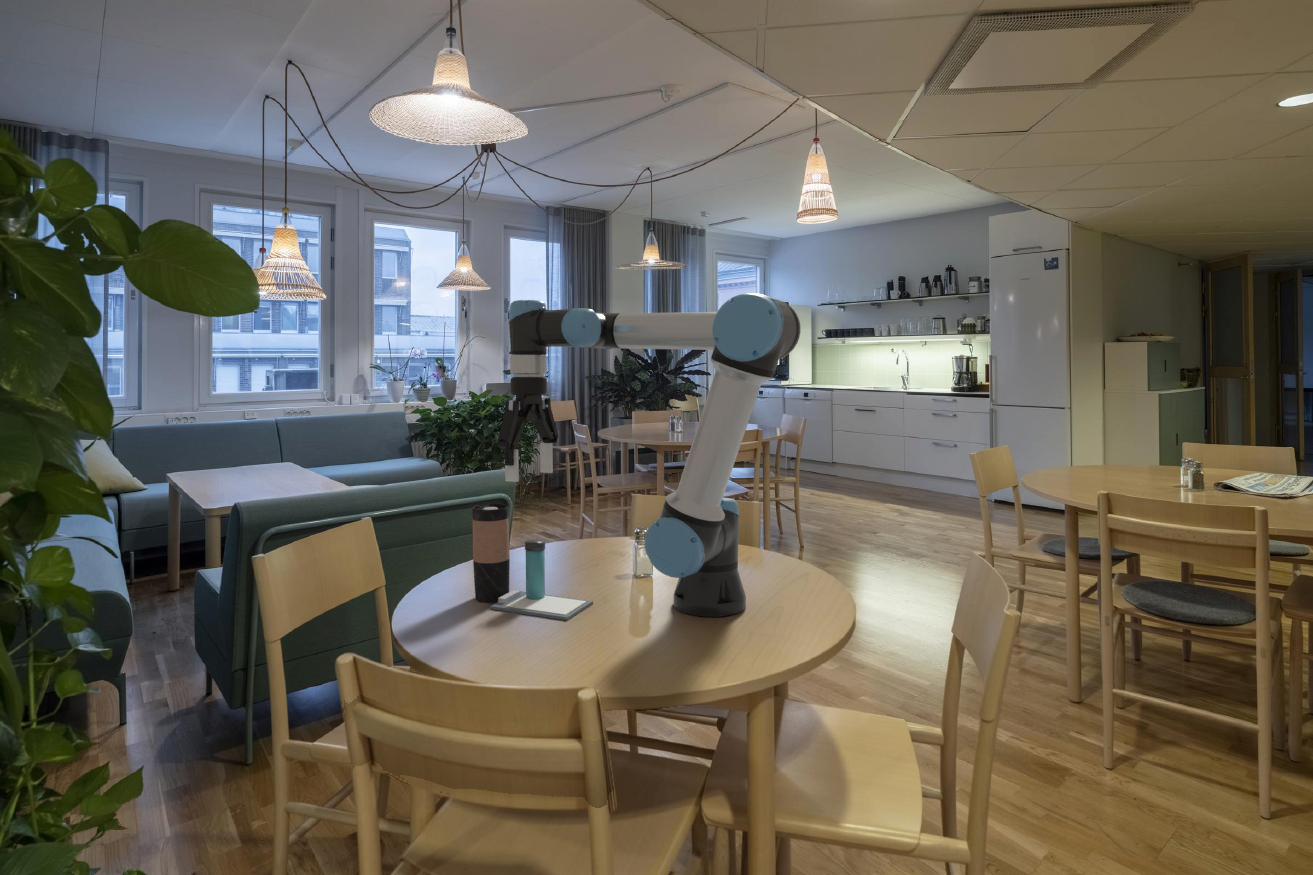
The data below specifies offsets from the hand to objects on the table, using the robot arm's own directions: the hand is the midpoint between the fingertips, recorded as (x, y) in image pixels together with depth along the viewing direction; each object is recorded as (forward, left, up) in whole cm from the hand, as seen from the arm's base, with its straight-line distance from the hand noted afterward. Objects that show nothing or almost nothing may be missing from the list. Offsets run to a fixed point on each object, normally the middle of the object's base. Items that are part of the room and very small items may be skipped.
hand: (530, 477), depth 155 cm
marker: (-1, 0, -26) cm, 26 cm away
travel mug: (+8, +2, -27) cm, 28 cm away
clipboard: (-4, +3, -27) cm, 27 cm away
